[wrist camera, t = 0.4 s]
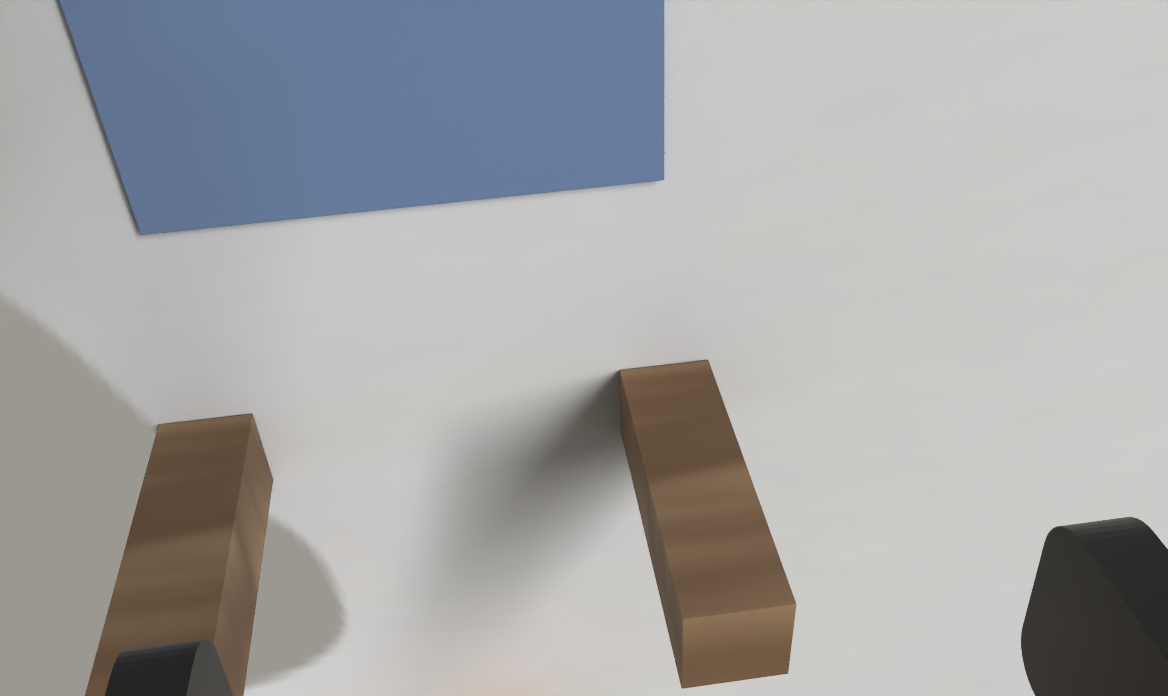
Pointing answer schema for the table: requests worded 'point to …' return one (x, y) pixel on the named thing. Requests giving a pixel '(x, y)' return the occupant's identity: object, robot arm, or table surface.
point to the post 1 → (193, 547)
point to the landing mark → (368, 102)
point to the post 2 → (704, 528)
